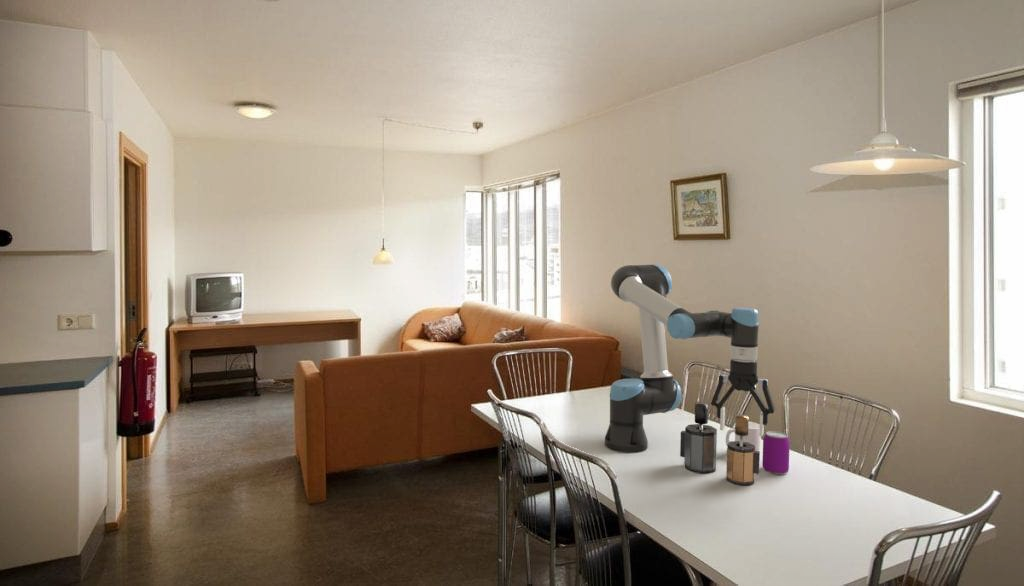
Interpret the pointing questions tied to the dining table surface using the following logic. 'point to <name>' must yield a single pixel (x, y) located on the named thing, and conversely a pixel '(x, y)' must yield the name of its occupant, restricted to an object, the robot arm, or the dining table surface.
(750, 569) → the dining table surface
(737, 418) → the plunger
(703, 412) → the plunger
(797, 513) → the dining table surface
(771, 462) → the beverage can
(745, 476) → the carafe
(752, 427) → the cup
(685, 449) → the carafe
